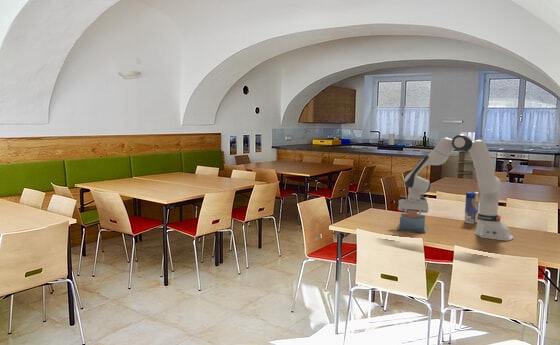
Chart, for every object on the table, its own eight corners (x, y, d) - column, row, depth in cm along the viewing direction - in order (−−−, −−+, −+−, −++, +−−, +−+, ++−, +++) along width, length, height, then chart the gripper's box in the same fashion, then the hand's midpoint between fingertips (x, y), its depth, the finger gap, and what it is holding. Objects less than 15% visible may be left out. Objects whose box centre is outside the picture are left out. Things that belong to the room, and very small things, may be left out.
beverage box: (477, 221, 325) (479, 192, 322) (474, 223, 316) (476, 194, 314) (467, 219, 329) (469, 191, 326) (464, 222, 320) (466, 193, 318)
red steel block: (416, 223, 299) (417, 210, 298) (416, 224, 295) (417, 211, 294) (407, 222, 301) (408, 209, 300) (407, 223, 297) (408, 211, 296)
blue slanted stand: (425, 226, 305) (426, 214, 304) (425, 233, 286) (425, 220, 285) (399, 224, 311) (400, 212, 310) (397, 230, 292) (397, 218, 291)
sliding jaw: (424, 224, 303) (425, 215, 302) (424, 225, 301) (424, 215, 300) (401, 222, 309) (401, 213, 308) (400, 223, 306) (401, 213, 306)
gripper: (398, 196, 306) (396, 212, 298) (429, 198, 299) (427, 214, 291) (398, 201, 310) (397, 217, 302) (428, 203, 304) (427, 220, 296)
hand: (412, 216), depth 297 cm, fingers closed on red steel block, 6 cm apart
